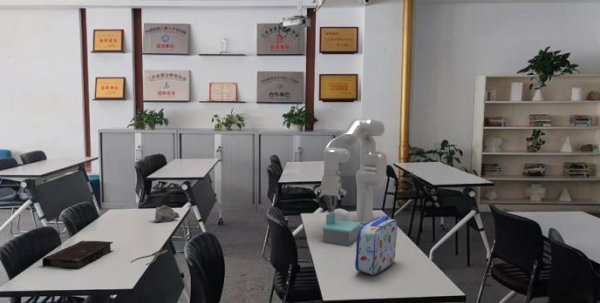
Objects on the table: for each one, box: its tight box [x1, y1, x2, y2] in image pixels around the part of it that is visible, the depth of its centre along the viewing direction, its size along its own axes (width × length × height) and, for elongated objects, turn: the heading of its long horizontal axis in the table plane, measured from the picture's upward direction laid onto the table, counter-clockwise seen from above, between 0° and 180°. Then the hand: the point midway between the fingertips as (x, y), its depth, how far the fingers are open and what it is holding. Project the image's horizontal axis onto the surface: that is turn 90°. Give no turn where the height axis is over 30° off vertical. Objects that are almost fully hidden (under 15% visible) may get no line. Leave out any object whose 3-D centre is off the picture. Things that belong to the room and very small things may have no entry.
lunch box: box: [354, 215, 398, 276], centre depth 196 cm, size 28×10×22 cm, turn 148°
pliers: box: [130, 248, 169, 266], centre depth 209 cm, size 10×1×20 cm
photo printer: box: [333, 208, 351, 221], centre depth 251 cm, size 10×4×12 cm, turn 39°
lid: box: [321, 212, 362, 233], centre depth 235 cm, size 17×15×8 cm
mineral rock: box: [154, 204, 181, 224], centre depth 270 cm, size 13×11×10 cm
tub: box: [322, 225, 361, 247], centre depth 235 cm, size 16×14×7 cm
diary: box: [41, 240, 114, 270], centre depth 207 cm, size 19×25×5 cm
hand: (330, 205), depth 236 cm, fingers open, 9 cm apart
